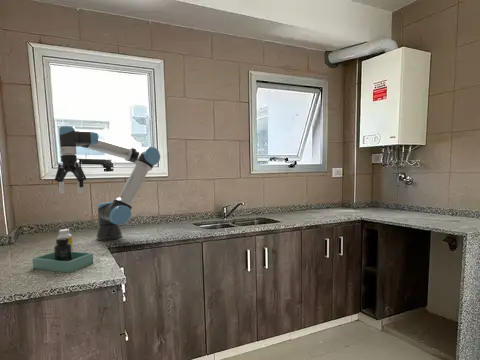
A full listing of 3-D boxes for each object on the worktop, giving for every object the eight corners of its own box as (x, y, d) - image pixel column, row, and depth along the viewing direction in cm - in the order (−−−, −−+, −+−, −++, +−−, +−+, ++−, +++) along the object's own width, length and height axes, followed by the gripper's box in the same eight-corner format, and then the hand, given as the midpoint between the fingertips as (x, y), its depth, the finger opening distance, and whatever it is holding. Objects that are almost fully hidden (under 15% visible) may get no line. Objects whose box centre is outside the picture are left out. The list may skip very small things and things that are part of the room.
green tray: (60, 259, 148) (59, 250, 148) (93, 262, 141) (92, 253, 141) (33, 268, 136) (32, 258, 135) (68, 272, 128) (67, 262, 128)
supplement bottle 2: (75, 261, 142) (73, 236, 141) (67, 266, 135) (65, 240, 134) (60, 262, 142) (59, 237, 141) (51, 267, 135) (50, 240, 134)
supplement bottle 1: (75, 251, 162) (74, 228, 161) (68, 255, 155) (67, 230, 154) (62, 252, 161) (61, 228, 161) (55, 255, 155) (54, 231, 154)
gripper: (45, 155, 163) (48, 194, 164) (80, 153, 155) (83, 194, 156) (58, 155, 170) (60, 192, 171) (91, 153, 162) (94, 192, 163)
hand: (71, 193), depth 164 cm, fingers open, 13 cm apart
